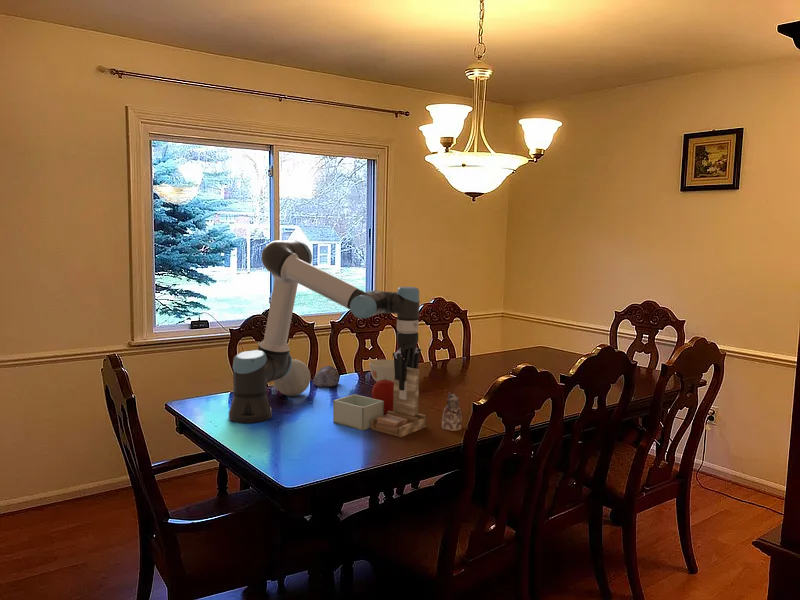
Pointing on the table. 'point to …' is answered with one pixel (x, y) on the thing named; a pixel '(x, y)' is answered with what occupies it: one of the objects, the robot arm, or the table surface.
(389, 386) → the red ovoid
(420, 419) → the oak rack
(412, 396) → the birch sheet
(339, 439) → the table surface
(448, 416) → the figurine
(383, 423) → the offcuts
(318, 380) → the rock
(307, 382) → the decorative sphere
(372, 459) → the table surface
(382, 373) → the bowl
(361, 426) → the box
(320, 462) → the table surface
